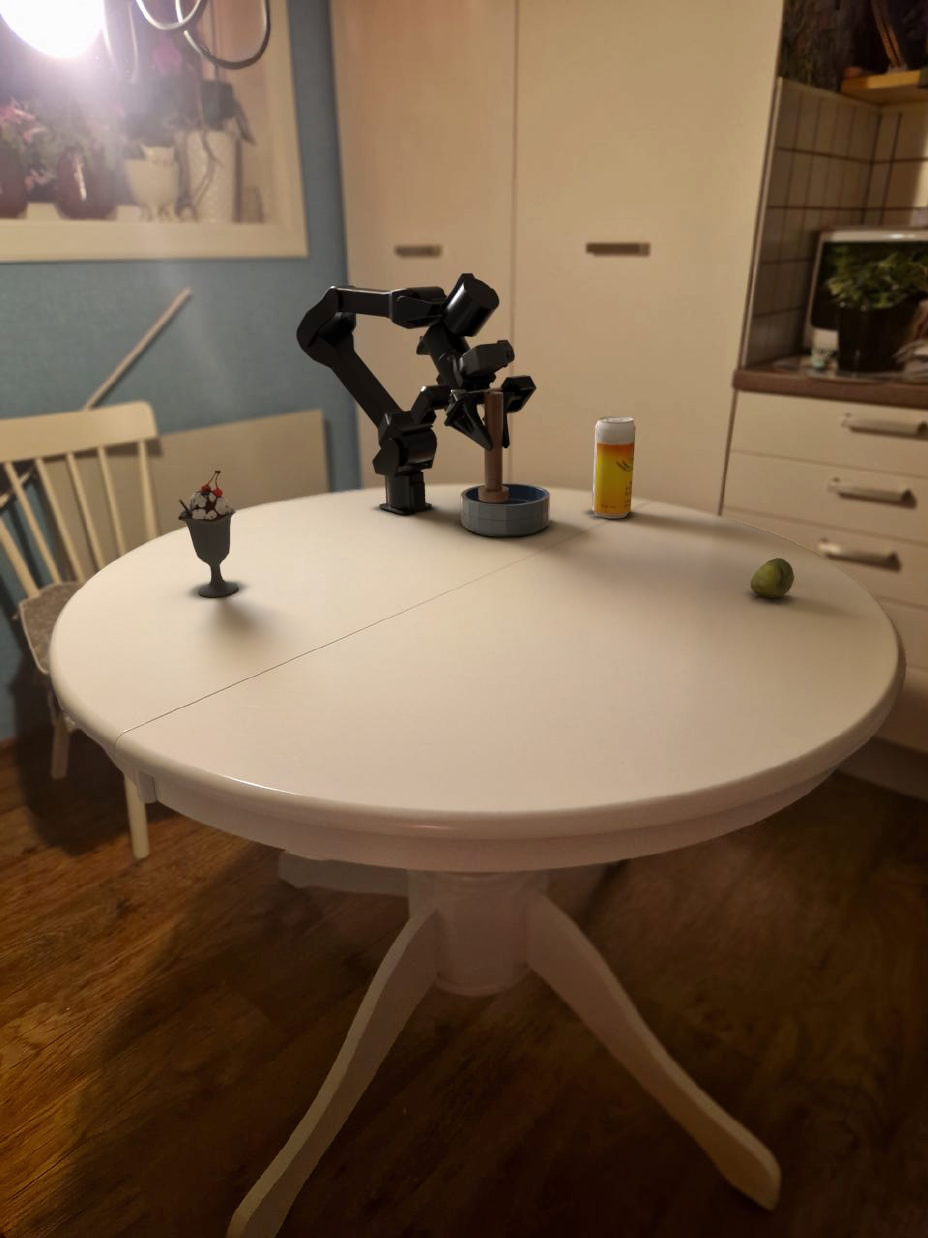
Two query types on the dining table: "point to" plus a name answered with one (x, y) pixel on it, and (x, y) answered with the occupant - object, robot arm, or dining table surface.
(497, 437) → the stick
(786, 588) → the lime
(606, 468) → the beer can
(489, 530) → the bowl
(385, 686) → the dining table surface
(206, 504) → the sundae
